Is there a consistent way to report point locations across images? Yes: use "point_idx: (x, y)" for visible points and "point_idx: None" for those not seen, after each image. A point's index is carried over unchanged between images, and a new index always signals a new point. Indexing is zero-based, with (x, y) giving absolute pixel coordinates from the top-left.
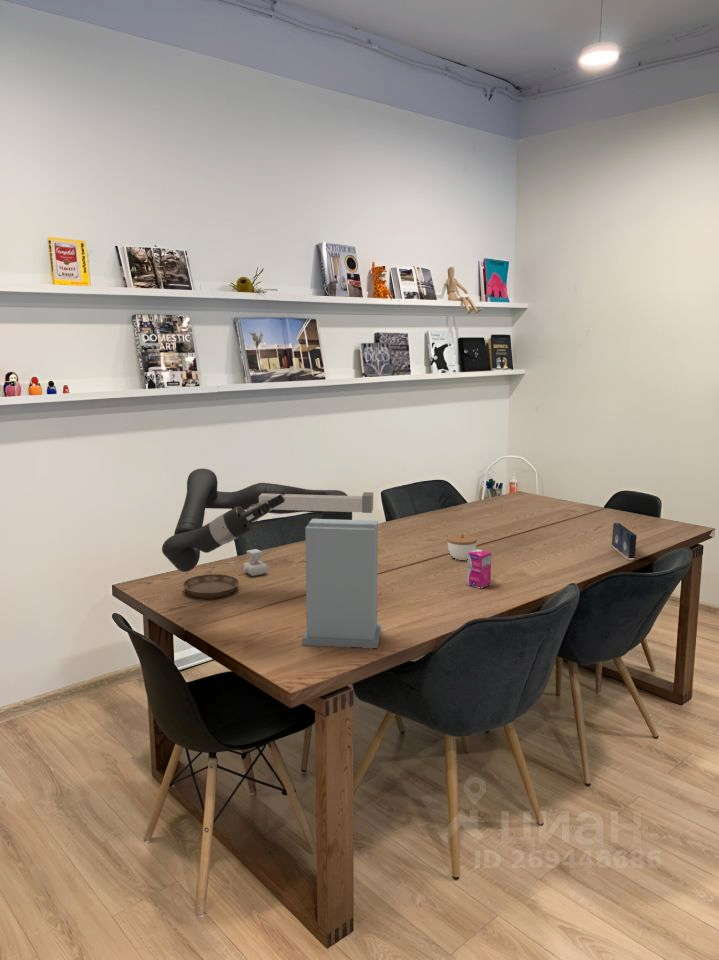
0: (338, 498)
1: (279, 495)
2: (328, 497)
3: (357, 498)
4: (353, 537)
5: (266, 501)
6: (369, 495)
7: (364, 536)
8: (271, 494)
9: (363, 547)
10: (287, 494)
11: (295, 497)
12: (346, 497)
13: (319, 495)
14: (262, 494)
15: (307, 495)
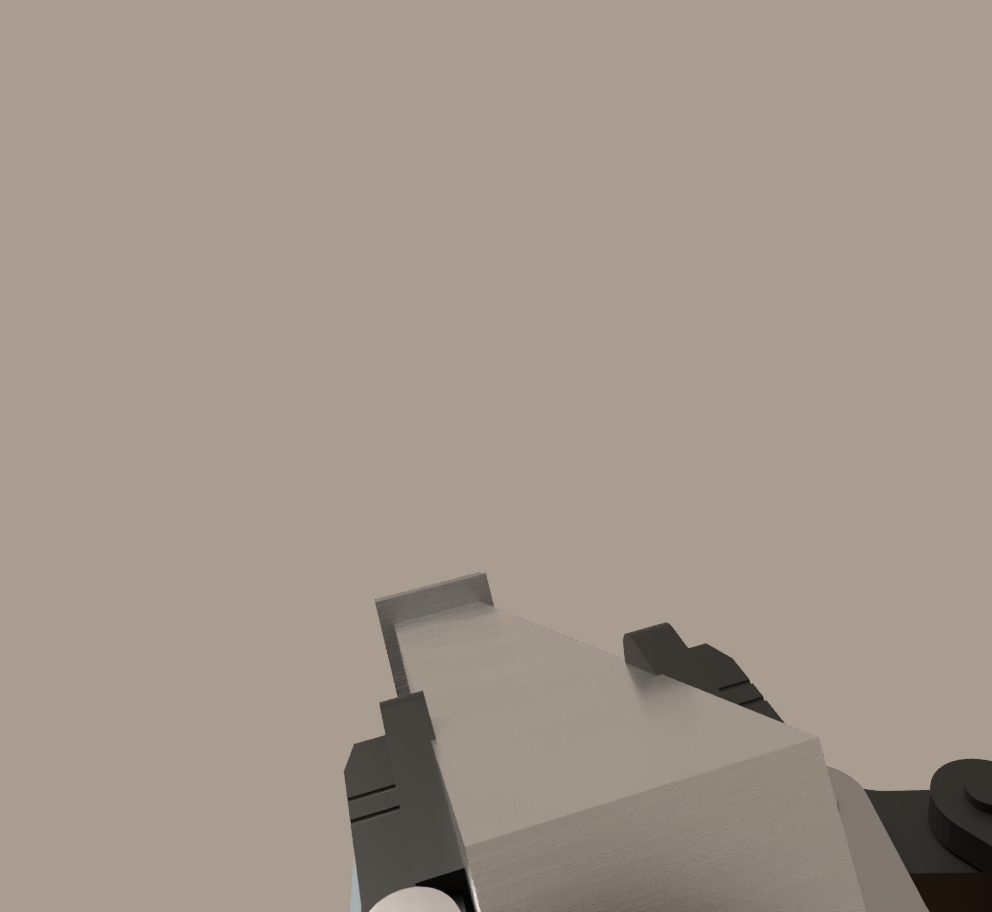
0: (501, 610)
1: (668, 627)
2: (488, 622)
3: (467, 607)
4: None
5: None
6: (466, 576)
7: None
8: (520, 748)
9: None
10: (447, 705)
11: (583, 644)
12: (454, 617)
13: (422, 651)
14: (587, 793)
15: (449, 660)
